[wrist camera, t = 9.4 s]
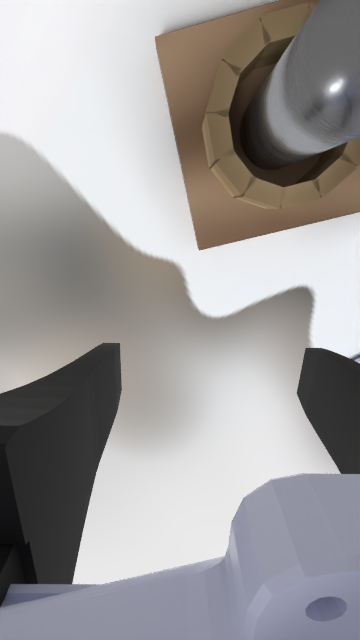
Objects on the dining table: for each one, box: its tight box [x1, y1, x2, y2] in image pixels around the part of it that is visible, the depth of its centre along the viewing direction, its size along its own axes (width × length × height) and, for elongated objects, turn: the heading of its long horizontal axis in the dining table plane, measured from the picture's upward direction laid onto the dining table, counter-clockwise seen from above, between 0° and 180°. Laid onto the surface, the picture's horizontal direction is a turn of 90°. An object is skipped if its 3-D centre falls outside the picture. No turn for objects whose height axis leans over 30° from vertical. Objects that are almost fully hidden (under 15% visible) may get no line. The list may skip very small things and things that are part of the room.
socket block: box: [155, 0, 360, 250], centre depth 16 cm, size 11×11×4 cm
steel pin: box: [240, 0, 360, 170], centre depth 13 cm, size 4×4×9 cm
